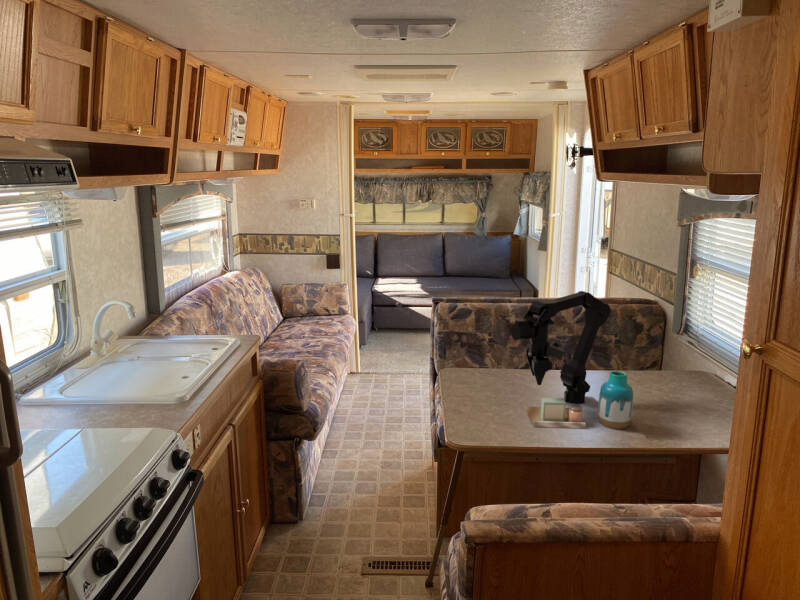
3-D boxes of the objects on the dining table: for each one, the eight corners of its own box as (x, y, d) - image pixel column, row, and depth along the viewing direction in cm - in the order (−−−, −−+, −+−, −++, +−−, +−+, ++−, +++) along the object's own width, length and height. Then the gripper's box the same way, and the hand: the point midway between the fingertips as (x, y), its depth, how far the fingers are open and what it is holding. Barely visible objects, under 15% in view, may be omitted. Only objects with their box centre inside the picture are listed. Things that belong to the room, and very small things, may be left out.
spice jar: (579, 421, 195) (581, 404, 193) (583, 426, 190) (584, 410, 189) (566, 420, 195) (567, 404, 193) (569, 426, 190) (571, 409, 189)
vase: (612, 419, 200) (617, 366, 196) (637, 431, 191) (643, 376, 187) (589, 424, 196) (594, 370, 191) (613, 437, 186) (619, 380, 182)
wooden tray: (572, 411, 206) (572, 403, 205) (584, 432, 189) (585, 423, 189) (523, 410, 206) (524, 401, 206) (532, 431, 190) (533, 421, 189)
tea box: (542, 422, 193) (544, 402, 192) (540, 417, 197) (541, 397, 196) (563, 422, 193) (565, 403, 192) (561, 417, 197) (562, 398, 196)
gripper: (569, 345, 190) (566, 390, 193) (557, 330, 208) (554, 372, 211) (535, 344, 190) (532, 389, 193) (525, 329, 208) (523, 371, 212)
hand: (536, 380), depth 202 cm, fingers open, 9 cm apart
